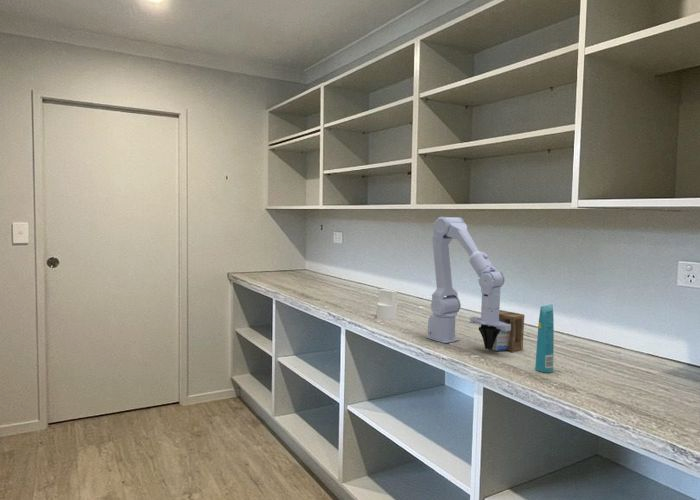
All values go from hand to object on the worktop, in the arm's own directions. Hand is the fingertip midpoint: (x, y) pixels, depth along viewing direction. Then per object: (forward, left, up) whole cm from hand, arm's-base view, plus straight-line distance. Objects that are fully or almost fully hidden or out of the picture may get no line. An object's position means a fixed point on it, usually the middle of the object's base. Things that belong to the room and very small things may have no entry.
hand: (488, 348), depth 161 cm
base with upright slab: (-59, +9, -2) cm, 60 cm away
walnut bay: (0, +9, -1) cm, 9 cm away
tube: (+21, -3, -2) cm, 21 cm away
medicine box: (0, +7, -1) cm, 7 cm away
